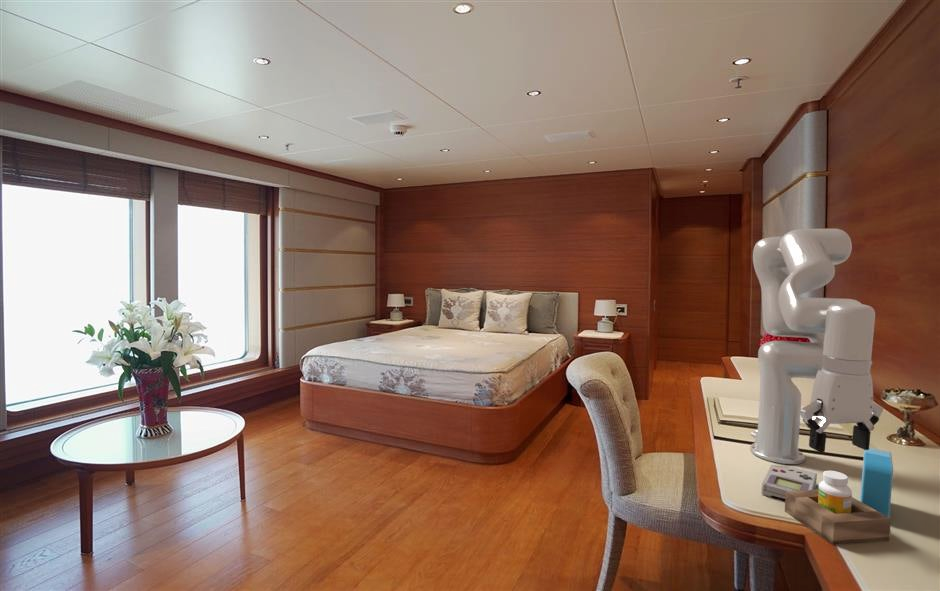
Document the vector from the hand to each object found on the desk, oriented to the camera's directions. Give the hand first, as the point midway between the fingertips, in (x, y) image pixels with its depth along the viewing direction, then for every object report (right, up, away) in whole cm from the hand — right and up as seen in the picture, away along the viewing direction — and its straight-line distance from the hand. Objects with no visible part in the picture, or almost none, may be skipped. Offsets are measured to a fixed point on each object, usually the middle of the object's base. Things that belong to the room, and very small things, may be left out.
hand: (838, 448), depth 97 cm
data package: (+13, -16, +7) cm, 22 cm away
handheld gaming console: (+1, -15, +16) cm, 22 cm away
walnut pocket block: (0, -16, +1) cm, 16 cm away
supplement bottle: (0, -15, +1) cm, 15 cm away
